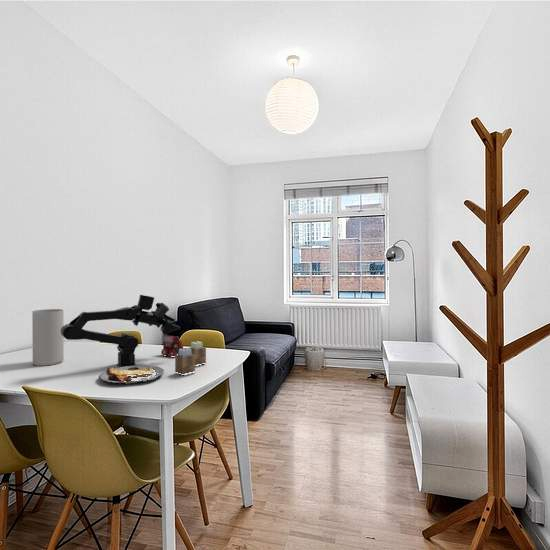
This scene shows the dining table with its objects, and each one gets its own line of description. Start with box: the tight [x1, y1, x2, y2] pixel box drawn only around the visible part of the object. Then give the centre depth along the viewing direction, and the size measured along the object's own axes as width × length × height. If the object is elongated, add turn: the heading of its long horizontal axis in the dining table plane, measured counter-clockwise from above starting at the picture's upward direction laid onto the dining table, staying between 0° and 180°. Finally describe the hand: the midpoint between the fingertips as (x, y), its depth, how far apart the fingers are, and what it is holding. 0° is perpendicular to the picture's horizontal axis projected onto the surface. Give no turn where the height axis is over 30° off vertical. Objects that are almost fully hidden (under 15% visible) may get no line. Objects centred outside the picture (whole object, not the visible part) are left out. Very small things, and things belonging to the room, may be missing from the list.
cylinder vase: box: [31, 308, 65, 367], centre depth 171 cm, size 12×12×25 cm
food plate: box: [98, 364, 165, 384], centre depth 149 cm, size 25×23×4 cm
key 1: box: [190, 340, 204, 349], centre depth 169 cm, size 4×4×8 cm
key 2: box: [179, 347, 191, 357], centre depth 155 cm, size 4×4×8 cm
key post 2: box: [174, 354, 196, 374], centre depth 155 cm, size 6×6×8 cm
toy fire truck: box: [160, 334, 184, 357], centre depth 187 cm, size 7×12×10 cm, turn 65°
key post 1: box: [188, 346, 207, 365], centre depth 170 cm, size 6×6×8 cm
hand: (177, 324), depth 184 cm, fingers open, 9 cm apart
